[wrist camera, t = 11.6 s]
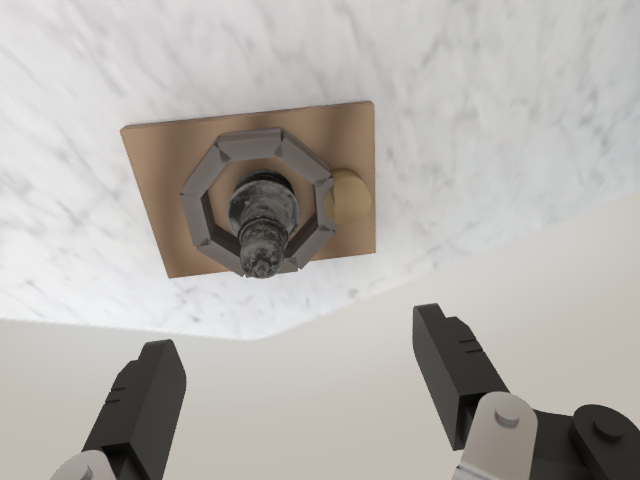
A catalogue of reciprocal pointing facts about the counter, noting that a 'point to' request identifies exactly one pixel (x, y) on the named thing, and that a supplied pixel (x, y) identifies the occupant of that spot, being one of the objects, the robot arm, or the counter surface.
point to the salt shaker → (263, 220)
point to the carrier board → (246, 156)
